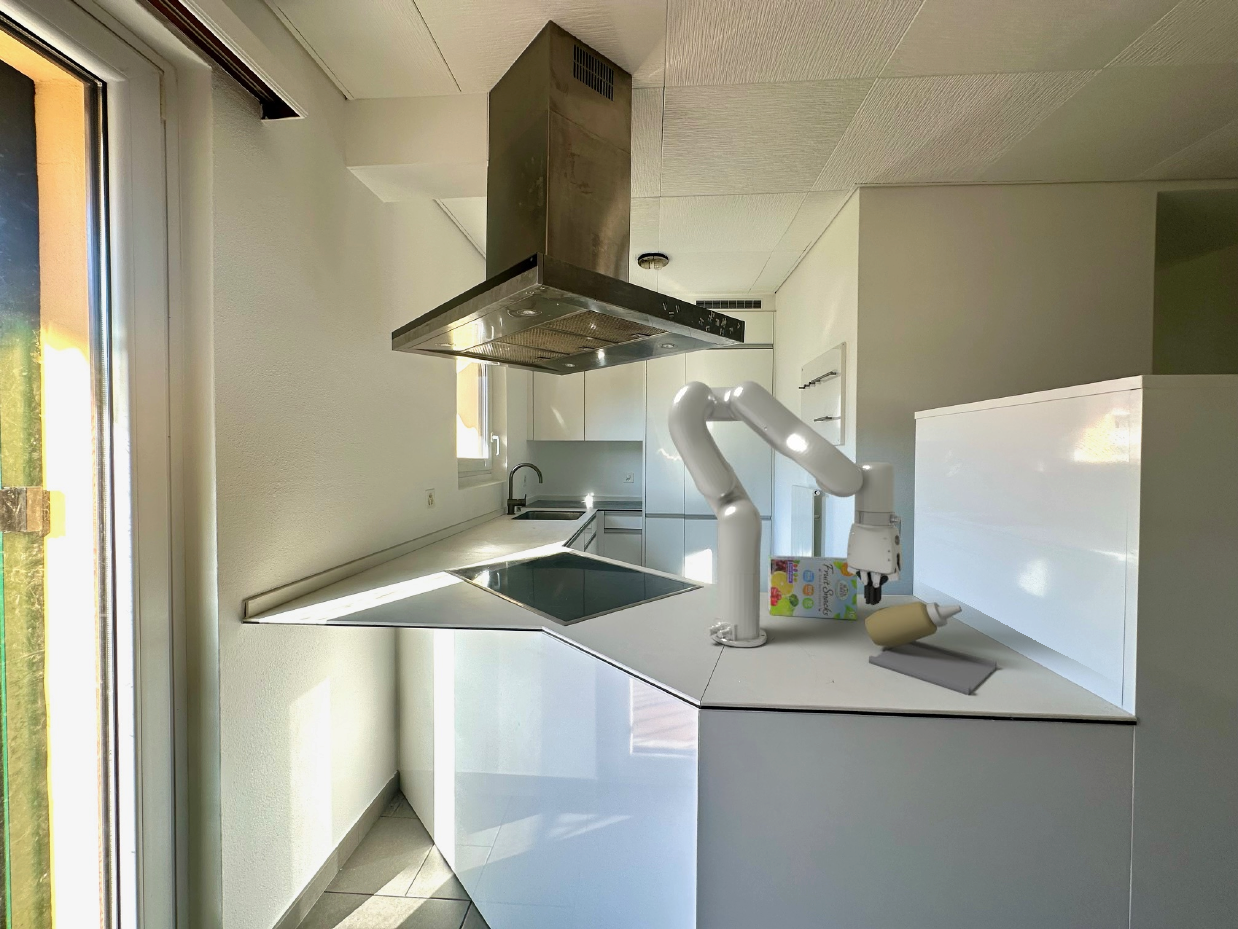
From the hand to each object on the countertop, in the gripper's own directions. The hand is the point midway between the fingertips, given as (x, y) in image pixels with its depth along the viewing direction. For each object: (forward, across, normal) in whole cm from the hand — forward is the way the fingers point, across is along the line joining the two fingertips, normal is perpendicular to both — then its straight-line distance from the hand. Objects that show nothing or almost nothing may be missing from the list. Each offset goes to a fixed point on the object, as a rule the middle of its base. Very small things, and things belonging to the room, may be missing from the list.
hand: (872, 603), depth 107 cm
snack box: (+10, +20, -10) cm, 24 cm away
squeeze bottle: (+6, 0, 0) cm, 7 cm away
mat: (+10, -12, 0) cm, 15 cm away
